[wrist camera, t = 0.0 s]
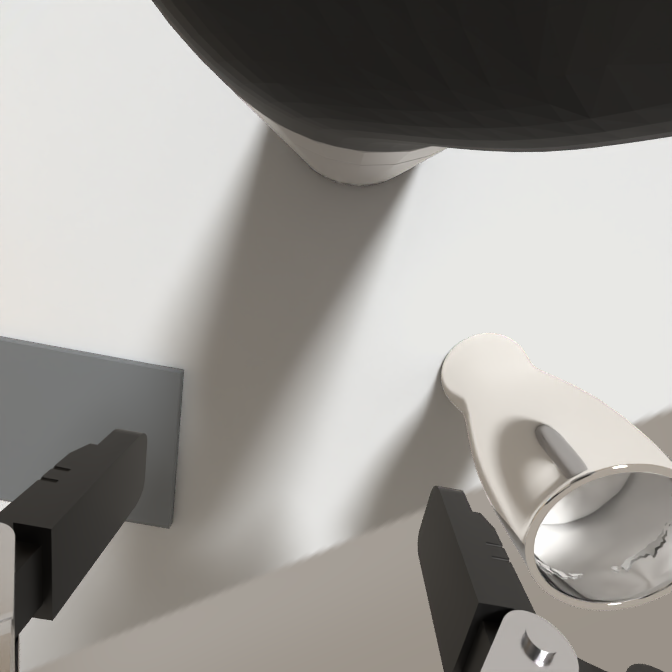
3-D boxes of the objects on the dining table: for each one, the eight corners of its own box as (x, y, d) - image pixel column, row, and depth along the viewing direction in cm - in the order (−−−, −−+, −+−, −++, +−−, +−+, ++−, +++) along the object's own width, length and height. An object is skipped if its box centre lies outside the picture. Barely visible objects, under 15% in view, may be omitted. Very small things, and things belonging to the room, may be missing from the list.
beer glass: (416, 358, 28) (485, 517, 14) (507, 306, 27) (687, 423, 13) (462, 432, 30) (566, 640, 16) (550, 387, 29) (751, 569, 14)
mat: (-13, 333, 28) (-21, 336, 28) (183, 370, 29) (180, 373, 28) (1, 493, 33) (-5, 499, 32) (172, 523, 33) (169, 528, 33)
